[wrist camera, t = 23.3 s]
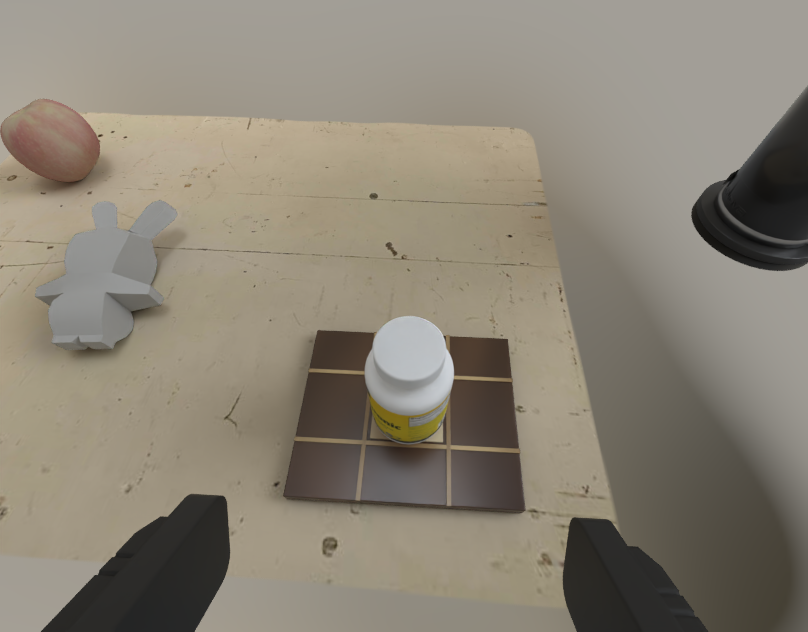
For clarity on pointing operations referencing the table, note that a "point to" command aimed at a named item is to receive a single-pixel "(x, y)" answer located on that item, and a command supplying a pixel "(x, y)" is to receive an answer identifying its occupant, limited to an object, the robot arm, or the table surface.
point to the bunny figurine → (105, 279)
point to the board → (408, 463)
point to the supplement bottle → (409, 379)
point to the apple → (51, 140)
